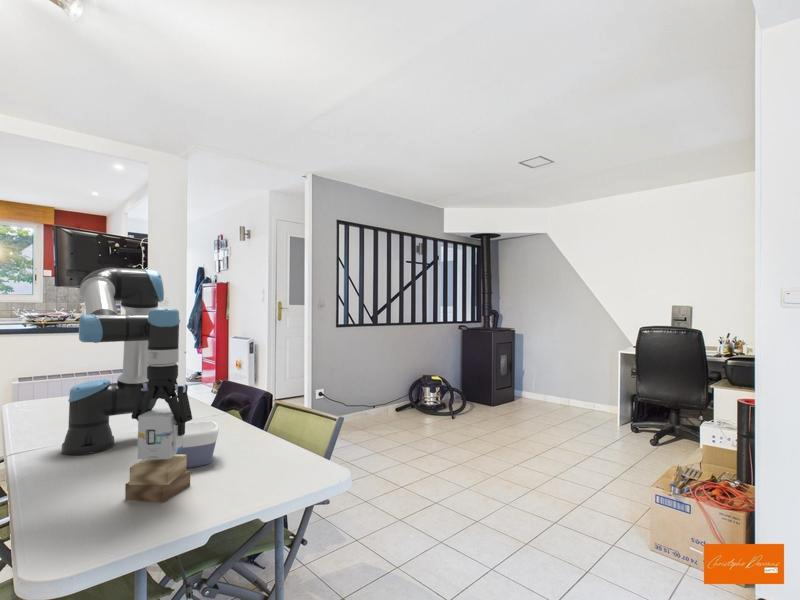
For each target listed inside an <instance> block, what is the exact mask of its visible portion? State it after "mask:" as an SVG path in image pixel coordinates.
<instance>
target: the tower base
mask: <svg viewBox="0 0 800 600" xmlns="http://www.w3.org/2000/svg"><path fill="white" fill-rule="evenodd" d="M190 486H191V470H186V471H185V472H184V473H182V474H181V475H180V476H179V477H177V478H176V479H175V480H174V481H172V482H171V483H170V484H169V485H129V481H128V482H126V483H125V487H124V489H125V491H124V494H125V495H124V500H128V501H135V502H137V501H138V502H147V503H156V504H164V503H165V502H167V501H168V500H171V499H172V498H173V497H174V496H176V495H178V494H179V493H180V492H182V491H184V490H185V489H187V488H189V487H190Z"/></svg>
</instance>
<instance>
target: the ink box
mask: <svg viewBox="0 0 800 600" xmlns="http://www.w3.org/2000/svg"><path fill="white" fill-rule="evenodd" d="M137 422H138V423H137V459H136V460H143V459H170V458H171V457H173V456H174V455H175V454H176V453H178V452H179V451H180V450H181V449H183V445H182V446H181V447H179V448H177V449H173V434H174V424H176V421H175V418H174V414H172V412H171V410H170V407H168V408H153V409H152V410H150V411H148V412H146V413H144V414H142V415H140V416H138V421H137Z"/></svg>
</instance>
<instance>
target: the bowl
mask: <svg viewBox="0 0 800 600" xmlns="http://www.w3.org/2000/svg"><path fill="white" fill-rule="evenodd" d="M219 431H220V427H219V425H218V423H216V422H215V421H213V420H205V421H194V422H186V423H185V434H184V435H183V449H181V450H180V451H179V452H178V453H176V454H182V455H187V462H186V469H187V468H188V469H189V468H196V467H203V466H205V465H206V466H207V465H208V464H210V463H212V461H213V457H214V452H215V448H216V443H217V439H218V434H219Z"/></svg>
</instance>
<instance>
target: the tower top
mask: <svg viewBox="0 0 800 600" xmlns="http://www.w3.org/2000/svg"><path fill="white" fill-rule="evenodd" d="M186 462H187V455H182V454H175V455H174V456H173V457H171V458H170V459H140V460H139V461H138V462H136V463H135V464H133V465H132V466H130V467H129V481H128V482H129V485H169V484H170V483H171V482H172V481H174V480H175V479H176V478H177V477H179V476H180V475H181V474H182V473H184V472H185V471H187V468H186Z"/></svg>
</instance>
